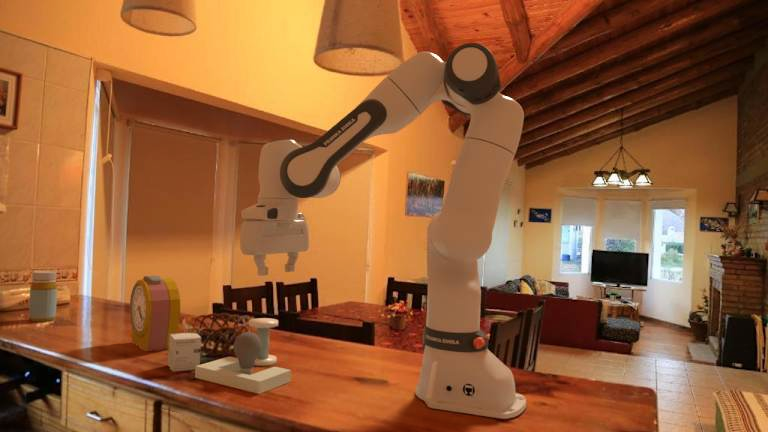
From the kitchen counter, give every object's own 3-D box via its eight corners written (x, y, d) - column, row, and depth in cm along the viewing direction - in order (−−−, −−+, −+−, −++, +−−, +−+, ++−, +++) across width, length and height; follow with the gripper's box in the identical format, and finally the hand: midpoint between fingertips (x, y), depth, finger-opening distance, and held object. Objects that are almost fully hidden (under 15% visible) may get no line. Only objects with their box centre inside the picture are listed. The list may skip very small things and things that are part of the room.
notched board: (290, 381, 115) (291, 370, 115) (259, 393, 107) (259, 381, 107) (228, 367, 124) (229, 356, 124) (195, 377, 115) (195, 366, 115)
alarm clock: (127, 341, 144) (130, 273, 144) (158, 337, 149) (161, 272, 149) (145, 353, 132) (148, 279, 132) (178, 349, 138) (181, 278, 138)
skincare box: (171, 372, 118) (173, 339, 118) (167, 365, 123) (168, 333, 123) (200, 369, 121) (201, 337, 121) (194, 362, 127) (196, 331, 127)
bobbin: (282, 361, 131) (284, 320, 131) (263, 367, 125) (265, 325, 125) (260, 356, 134) (262, 317, 134) (240, 362, 128) (242, 321, 128)
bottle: (60, 320, 165) (62, 272, 165) (35, 323, 159) (38, 273, 159) (48, 317, 169) (50, 270, 169) (24, 320, 163) (26, 271, 163)
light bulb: (260, 381, 114) (263, 335, 114) (231, 382, 113) (234, 335, 113) (259, 373, 120) (261, 329, 120) (232, 374, 119) (234, 329, 119)
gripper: (294, 212, 131) (293, 269, 131) (235, 210, 112) (234, 276, 112) (316, 213, 128) (314, 270, 128) (259, 211, 109) (257, 278, 109)
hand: (276, 273), depth 120 cm, fingers open, 8 cm apart
